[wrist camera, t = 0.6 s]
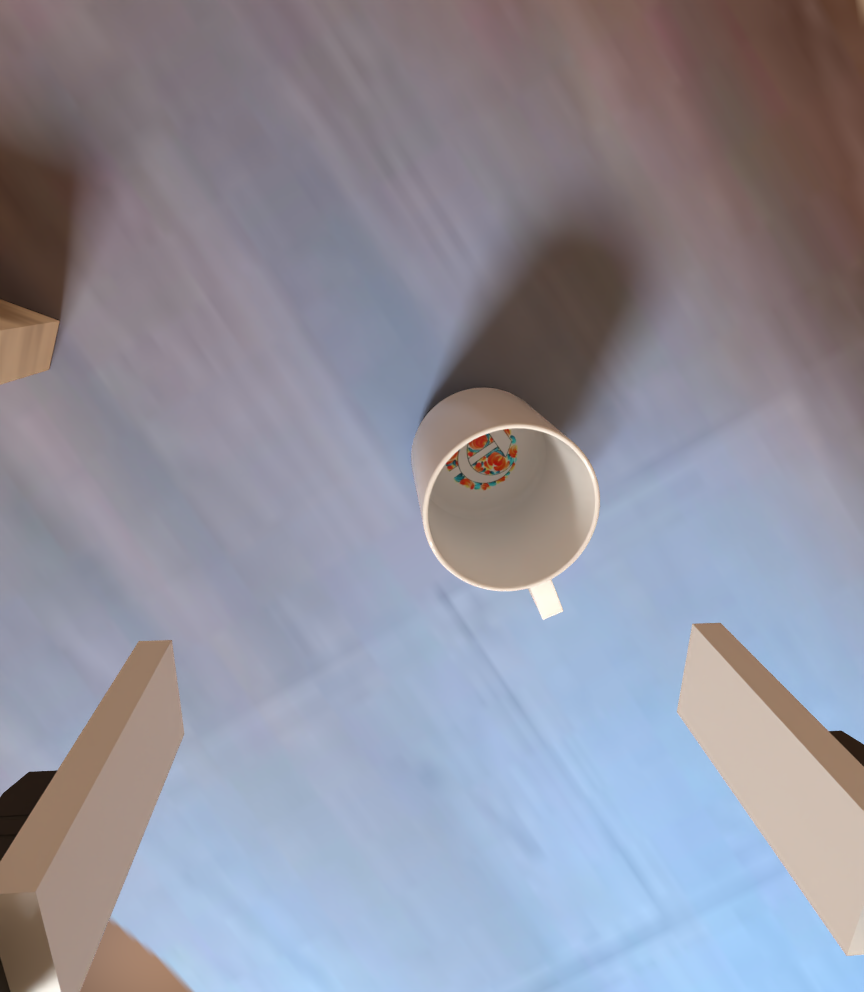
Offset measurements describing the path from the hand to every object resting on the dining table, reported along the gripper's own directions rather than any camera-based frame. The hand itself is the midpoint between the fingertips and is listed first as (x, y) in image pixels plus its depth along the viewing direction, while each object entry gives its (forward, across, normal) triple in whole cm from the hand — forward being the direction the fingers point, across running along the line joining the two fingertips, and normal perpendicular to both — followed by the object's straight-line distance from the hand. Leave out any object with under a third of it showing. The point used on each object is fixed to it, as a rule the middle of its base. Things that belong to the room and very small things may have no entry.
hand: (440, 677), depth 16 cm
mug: (+26, +6, -3) cm, 27 cm away
